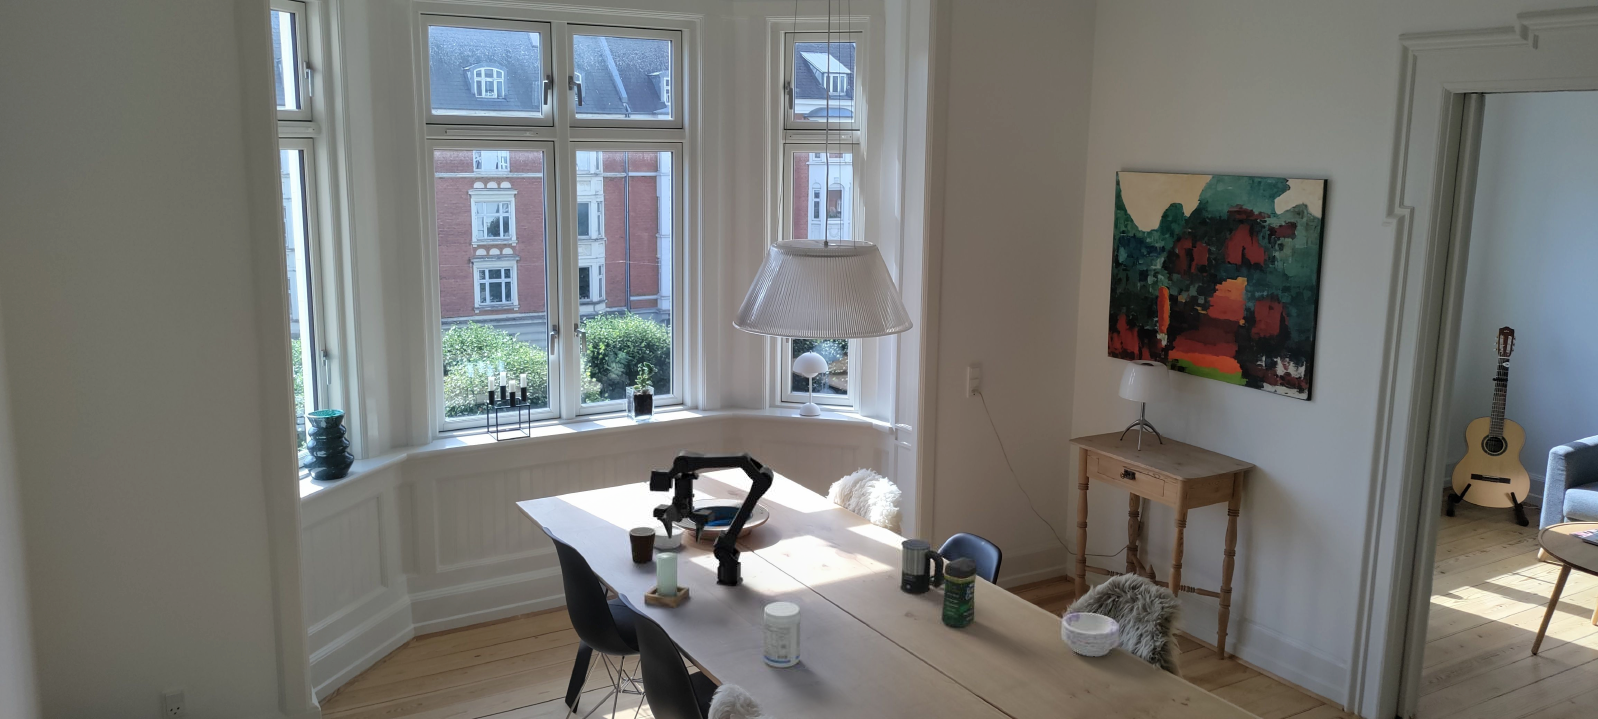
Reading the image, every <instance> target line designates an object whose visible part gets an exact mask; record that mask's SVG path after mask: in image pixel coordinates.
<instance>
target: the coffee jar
mask: <svg viewBox="0 0 1598 719" xmlns="http://www.w3.org/2000/svg"><path fill="white" fill-rule="evenodd" d="M944 565H945V566H944V570H943V573H944V576H945V580H944V590H943V591H944V592H943V594H944V595H943V602H942V611H941V622H942V623H944V624H945V625H946V626H949V627H952V628H953V627H955V628H963V627H966V626H968V625H970V624H972V623H973V621H974V620H975V585H976V578H977V574H978V572H977V570H978V569H977V568H978V565H977V563H976V562H975V560H973V559H971V558H967V557H963V556H962V557H960V558H957V559H954V560H952V561H949V562H947V563H946V564H944Z"/></svg>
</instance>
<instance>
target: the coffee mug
mask: <svg viewBox="0 0 1598 719" xmlns="http://www.w3.org/2000/svg"><path fill="white" fill-rule="evenodd" d="M653 528H654V527H648V526H638V527H633V528H631V529H630V530H628V535H629V541H630V550H631V558H632V562H633V563H634V564H640V565H642V564H649V563H651V562H652V561H653V558H654V548H655V546H654V540H655V532H656V530H655V529H653Z"/></svg>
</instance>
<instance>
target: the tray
mask: <svg viewBox="0 0 1598 719" xmlns="http://www.w3.org/2000/svg"><path fill="white" fill-rule="evenodd" d="M689 597H690V587H687V586H682V585H677V595H676V596H675V597H672V598H671V597H664V596H658V595H657V584H656V585H655V586H654V587H652V588H651V589H650V590H648V591H647V592H646V593H645V594H644V596H643V598H644V601H643V602H644V604H649V605H654V606H659V607H667V608H671V609H674V608H677V607H678V606H679V605H681V603H683V602H685V600H686V599H687V598H689Z"/></svg>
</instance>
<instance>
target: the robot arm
mask: <svg viewBox="0 0 1598 719" xmlns="http://www.w3.org/2000/svg"><path fill="white" fill-rule="evenodd" d="M672 463H673V464H672V466H670V468H668V469H669V470H668V469H667V470H666V469H665V470H664V469H657V468H654V469H653V468H652V470H651V473H650V474H651V475H650V481H649V491H650V492H654V493H655V492H656V493H657V492H658V493H659V492H660V493H661V492H664V493H669V492H670V490H672V489H673V487H674V490H673V491H674V493H673V496H672V499H671V504H663V503H661V504H659V505H658V506H656V507H655V508H654V509H653V510H652V517H653V518H656V520H657V521H660V522H661V524H662V526H663V525H664V527H665V529H666V532H667V535H668V537H669V539H671V538H672V526H674V525H673V522H674V523H681V522H683V519H688V518H690V519H695V522H696V523H694V526H695V543H696V544H698V543H699V542H700V541H699V540H700V538H701V536H702V534H703V531H704V529H705V527H706V526H707V525H708V524H711V522H713V521H714V520H715V517H716V516H715V512H714V511H713V510H710V509H709V510H708V509H701V510H699V511H698V512H696V511H695V510H696V509H695V506H694V498H695V496H696V495H695V493H694V480H695V481H698V480H699V478H700V474H699V473H697V472H696V471H698V470H702V469H703V470H704V469H722V468H723V469H727V468H729V469H731V468H740V469H741V470H742V471H744V473H745V474H746V476H747V477H748V478H749V479H750V480H751V481H752V482H751V486H750V490H749V492H748V494H747V495H746V497H745V499H744V501H743V502H742V503H741V506H740V507H739V509H738V511H737V512H736V515H735V516H734V518H733V520H732V521H731V524H730V526H729V527H728V528H727V529H726V530H725V531H724V530H723V529H721V530H720V532H719V534H718V536H717V538H715V540H714V542H713V546H712V547H713V550H712V552H713V553H712V554H713V556H714V558H715V559H716V560H717V561H718V566H717V567H716V568H717V570H716V571H717V578H716V579H717V580H716V584H719V585H725V586H731V587H732V586H733V587H736V586H738V585H739V583H741V582H742V580H744V578H743V577H742V562H741V561H739V560H740V556H741V551H740V550H739V549H738V548H737V547H736V542H737V540H738V537H739V535H740V534H741V531H742V530H743V528H744V527H745V525H746V523H747V521H748V519H749V518H750V515H751V514H752V512H753V511H754V509H755V507H756V505H757V503H758V502H759V500H760V499H761V498H762V497H763V496H764V495H765V494H766V493H767V492H768V490H769V489H770V488H771V487H772V485H773V482H774V478H775V475H774V471H773V470H772V469H771V468H770V467H767V466H764V465H763V464H762V463H761V462H760V461H758V460H757V459H755V458H753V457H752V456H751V455H750V454H749V453H747V452H744V451H743V452H739V453H737V452H735V453H707V454H705V453H700V452H697V451H692V450H691V451H690V450H682V451H679V452H678V453H677V455H676V456H675V458H674V459H673V462H672Z"/></svg>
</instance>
